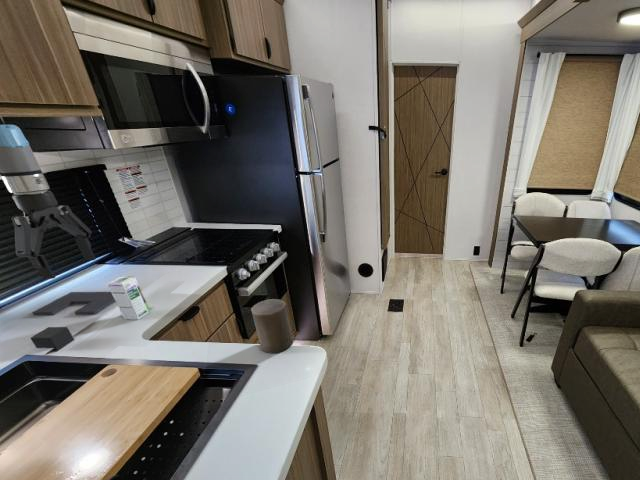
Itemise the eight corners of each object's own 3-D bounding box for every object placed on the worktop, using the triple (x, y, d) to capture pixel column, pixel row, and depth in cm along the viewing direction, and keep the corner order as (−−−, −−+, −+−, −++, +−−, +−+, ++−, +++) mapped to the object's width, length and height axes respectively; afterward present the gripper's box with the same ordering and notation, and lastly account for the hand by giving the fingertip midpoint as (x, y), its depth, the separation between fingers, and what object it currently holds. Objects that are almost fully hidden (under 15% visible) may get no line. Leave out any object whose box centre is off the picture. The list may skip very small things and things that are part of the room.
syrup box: (138, 320, 118) (122, 283, 111) (123, 319, 118) (106, 282, 111) (150, 311, 123) (135, 276, 116) (136, 311, 123) (120, 275, 116)
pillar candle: (295, 348, 102) (286, 306, 94) (261, 357, 98) (250, 313, 91) (291, 332, 109) (283, 292, 102) (259, 339, 106) (249, 298, 99)
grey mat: (35, 318, 119) (32, 312, 118) (73, 297, 133) (70, 292, 132) (96, 317, 119) (93, 311, 118) (128, 296, 133) (125, 291, 132)
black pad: (38, 351, 102) (29, 337, 99) (56, 340, 107) (48, 327, 105) (58, 351, 102) (49, 337, 99) (74, 339, 107) (67, 326, 105)
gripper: (-6, 202, 74) (43, 287, 84) (86, 184, 96) (116, 253, 106) (-40, 202, 74) (14, 287, 84) (60, 184, 96) (93, 253, 106)
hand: (71, 268), depth 95 cm, fingers open, 13 cm apart
